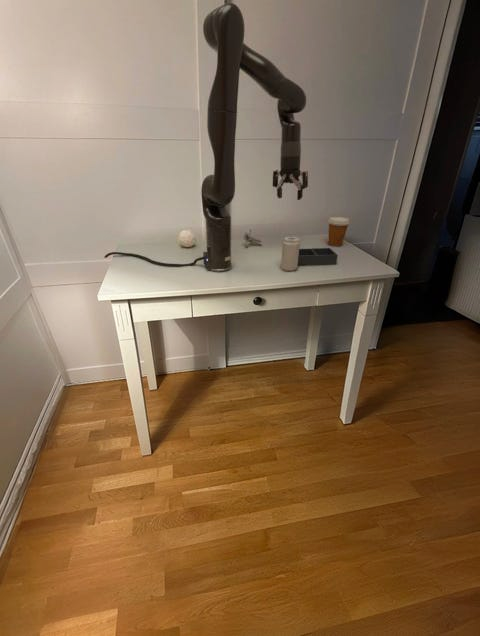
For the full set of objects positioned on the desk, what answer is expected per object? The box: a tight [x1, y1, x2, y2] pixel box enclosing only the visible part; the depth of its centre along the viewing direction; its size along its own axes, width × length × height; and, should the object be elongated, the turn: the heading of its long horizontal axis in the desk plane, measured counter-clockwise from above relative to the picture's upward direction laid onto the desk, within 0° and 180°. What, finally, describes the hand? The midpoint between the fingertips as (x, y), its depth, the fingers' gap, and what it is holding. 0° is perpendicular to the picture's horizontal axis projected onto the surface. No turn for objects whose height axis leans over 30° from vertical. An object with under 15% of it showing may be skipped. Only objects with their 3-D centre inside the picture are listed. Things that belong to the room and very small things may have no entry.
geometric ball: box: [177, 229, 197, 248], centre depth 142 cm, size 8×8×8 cm
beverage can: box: [280, 236, 301, 272], centre depth 119 cm, size 6×6×12 cm
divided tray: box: [297, 247, 338, 267], centre depth 128 cm, size 17×9×4 cm, turn 97°
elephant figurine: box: [243, 228, 263, 248], centre depth 146 cm, size 10×6×9 cm
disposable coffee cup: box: [327, 216, 351, 247], centre depth 146 cm, size 10×10×12 cm
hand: (289, 198), depth 127 cm, fingers open, 8 cm apart
